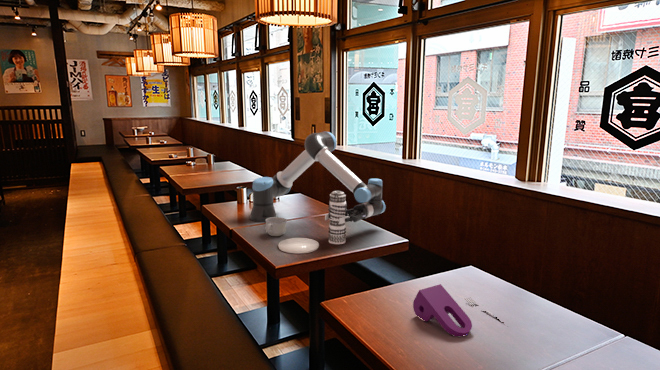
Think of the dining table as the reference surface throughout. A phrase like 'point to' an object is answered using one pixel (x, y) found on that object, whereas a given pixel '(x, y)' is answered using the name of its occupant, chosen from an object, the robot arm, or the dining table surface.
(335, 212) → the decorative candle
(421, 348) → the dining table surface
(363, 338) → the dining table surface
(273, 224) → the teacup
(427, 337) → the dining table surface
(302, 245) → the candle plate
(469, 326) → the mounting bracket
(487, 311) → the fork
